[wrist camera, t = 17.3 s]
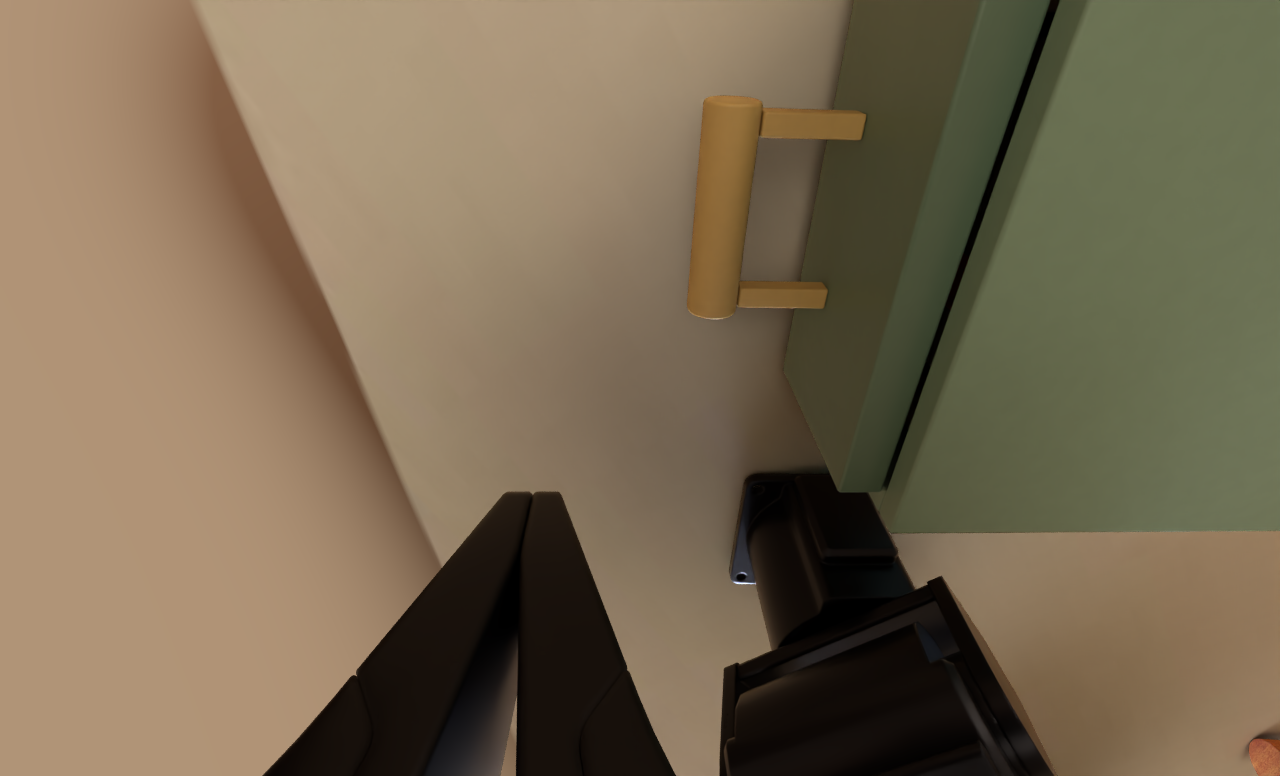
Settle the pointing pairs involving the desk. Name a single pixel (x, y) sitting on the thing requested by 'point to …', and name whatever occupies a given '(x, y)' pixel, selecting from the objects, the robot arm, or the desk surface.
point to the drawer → (870, 210)
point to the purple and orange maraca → (1265, 756)
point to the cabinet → (1117, 292)
